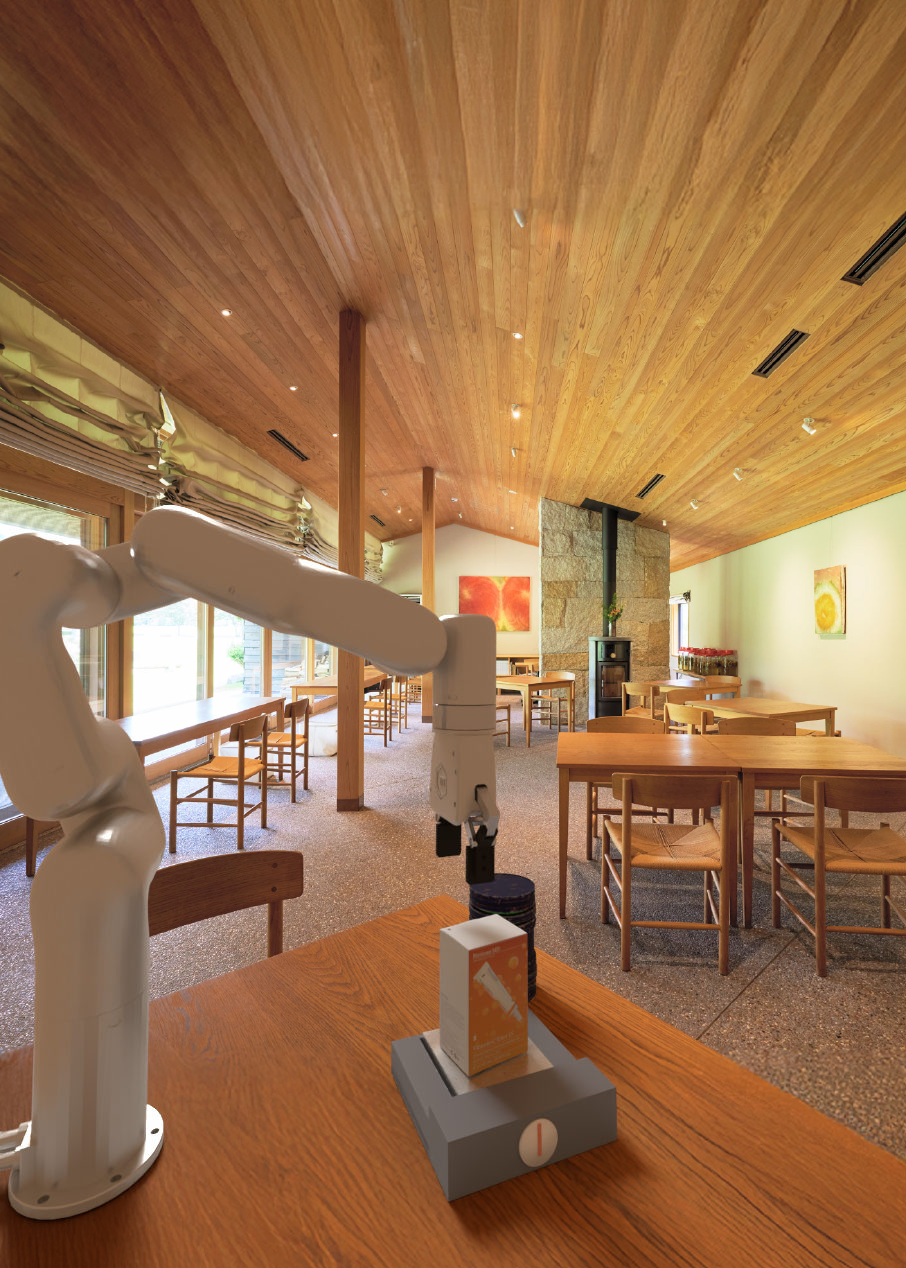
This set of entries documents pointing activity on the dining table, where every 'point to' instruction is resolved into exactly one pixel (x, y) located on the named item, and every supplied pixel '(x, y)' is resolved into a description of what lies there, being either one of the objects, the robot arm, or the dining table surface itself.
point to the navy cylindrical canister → (509, 910)
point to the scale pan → (496, 1074)
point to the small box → (483, 992)
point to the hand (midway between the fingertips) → (463, 868)
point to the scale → (505, 1114)
